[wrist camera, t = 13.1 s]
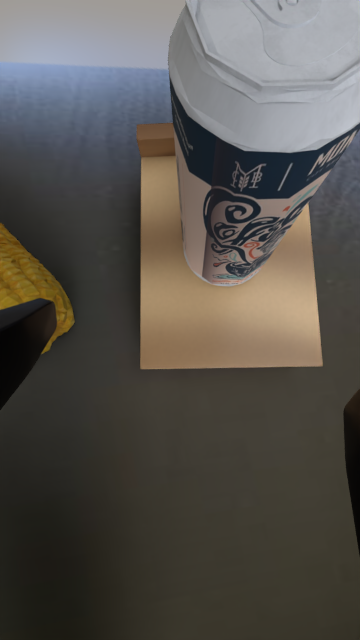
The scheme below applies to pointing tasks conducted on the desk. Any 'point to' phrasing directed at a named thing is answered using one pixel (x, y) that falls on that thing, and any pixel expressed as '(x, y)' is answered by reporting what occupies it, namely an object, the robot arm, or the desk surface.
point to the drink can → (257, 121)
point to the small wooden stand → (217, 287)
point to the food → (30, 282)
